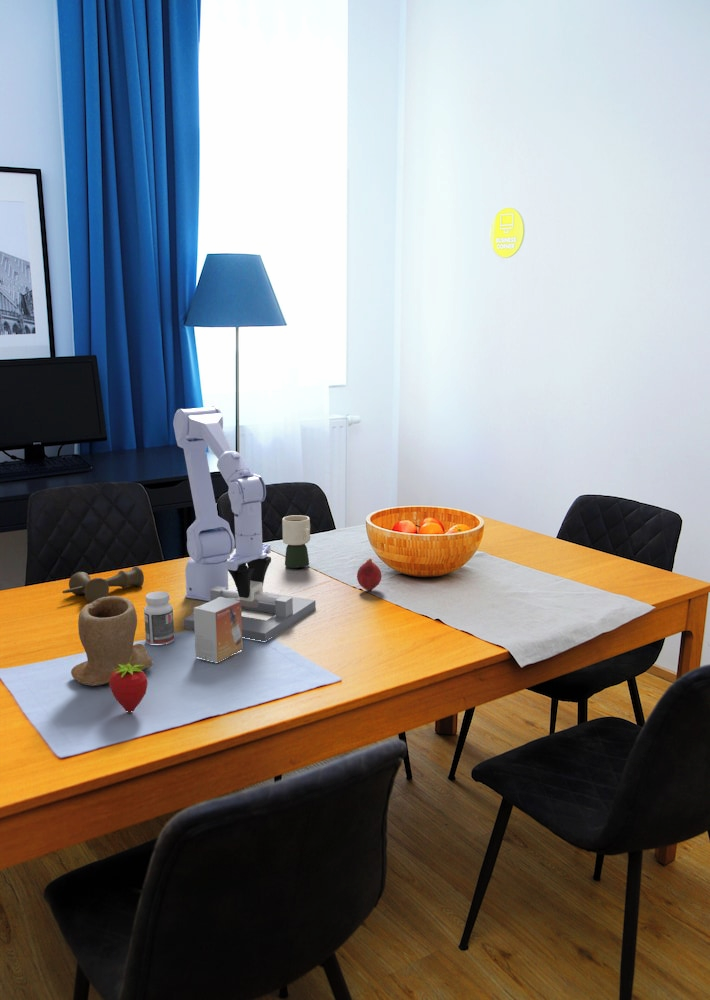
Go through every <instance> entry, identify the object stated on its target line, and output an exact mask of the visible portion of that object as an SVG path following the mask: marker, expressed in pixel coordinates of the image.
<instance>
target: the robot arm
mask: <svg viewBox="0 0 710 1000" xmlns="http://www.w3.org/2000/svg"><path fill="white" fill-rule="evenodd" d="M173 416H174V417H173V423H172V425H173V430H174V435H175V440H176V444H177V447H179V448H181V449H183V453H184V459H185V465H186V469H187V475H188V481H189V487H190V491H191V498H192V502H193V508H194V513H195V514H194V515H195V520H194V521H193V523H191V525H190V526H189V527H188V528H187V530H186V538H187V539H186V540H187V541H186V548H187V549H186V550H187V553H188V555H189V557H190V558H189V559H188V561H187V563H186V565H185V571H184V572H185V590H186V591H185V592H186V593H185V594H184V598H188V599H193V600H199V601H207V602H210V601H211V600H210V590H211V589H213V588H215V587H217V586H221V587H227V590H230V588H229V587H230V586H229V575H230V576H231V577H232V579H233V581H234V585H235V587H236V590H237V591H238V594H239V597H243V598H248V597H249V594H250V582H251V581H257V582H262V585H263V586H264V582H265V578H266V574H267V571H268V568H269V565H270V564H271V561H272V558H271V556H268V554H271V544H270V543H269V544H268V543H263V528H262V527H263V526H262V525H263V524H262V523H263V522H262V521H263V520H262V502H264V501H265V499H266V496H267V488H266V483H265V480H263V477H262V476H261V475H259V474H256V472H252V470H251V469H250V468H249V466H248V464H247V462H246V461H245V460H244V458H243V456H242V455H241V453H240V452H238V451H233V449H232V447H231V445H230V443H229V440H228V439H227V436H226V435H225V432H224V430H223V429H224V417H223V414H222V412H221V410H220V409H219V407H218V406H216V405H212V406H207V407H206V406H204V407H195V408H178V409H177V410H176V412H175V413H174V415H173ZM207 447H208V448H210V450H211V451H212V452H213V454H214V456H215V457H216V458H217V463H216V467H217V469H218V471H219V472H220V474H221V476H222V478H223V479H224V481H225V483H226V484H227V486H228V490H227V494H228V499H229V501H230V505H231V507H230V508H231V512H232V513H233V514H234V518H233V519H234V534H233V532H232V530H231V527H230V523H229V522H228V521H227V520H225V519H223V518H222V517H220V516H219V515H218V510H217V509H218V508H217V505H216V504H217V503H216V499H215V494H214V493H215V492H214V488H213V487H214V486H213V483H212V477H211V472H210V471H211V470H210V467H209V460H208V454H207ZM208 530H210V531H208ZM211 530H212V531H211ZM203 531H206V532H203ZM234 551H235V552H234ZM233 552H234V553H233ZM232 554H233V555H232ZM231 590H232V591H236V590H235V589H231Z"/></svg>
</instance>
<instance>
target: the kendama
mask: <svg viewBox="0 0 710 1000" xmlns="http://www.w3.org/2000/svg"><path fill="white" fill-rule="evenodd" d="M144 581H145V575H144V572H143V570H142V568H140V567H139V566H138V565H137V566H136V565H135V566H133V567H132V568H131V569H130V570H126V571H124V570H119V571H118V572H117V574H115V575H113V576H111V577H109V578H106V579H105V578H102V577H95V578H92V579H91V576H90V574H88V573H87V572H84V571H77V572H75V573H74V574H73V575H71V576H70V578H69V582H68V587H69V588H67V589H65V590H63V591H62V594H70V593H71V594H73V595H77V596H80V595H84V598H85V599H86V601H87V602H89V603H92V602H93V601H95V600H97V599H99V598H102V597H108V596H109V594H110V593H109V592H110V587H120V588H122V589H127V588H128V587H130V586H136V587H142V586H143V585H144Z"/></svg>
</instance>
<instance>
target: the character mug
mask: <svg viewBox="0 0 710 1000" xmlns="http://www.w3.org/2000/svg"><path fill="white" fill-rule="evenodd" d="M281 519H282V520H281V521H282V522H281V523H282V524H281V526H282V528H281V529H282V542H283V544H285V545H287V546H286V548H285V558H284V566H285V567H286V568H291V569H296V568H299V569H302V568H303V567H308V566H309V565H310V560H309V553H308V547H307V545H306V544H308V543H309V542H310V541H311V522H310V521H311V519H310V517H309V516H307V515H301V514H299V515H296V514H295V515H294V514H292V515H288V516H284V517H283V518H281Z"/></svg>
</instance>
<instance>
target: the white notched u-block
mask: <svg viewBox="0 0 710 1000" xmlns="http://www.w3.org/2000/svg"><path fill="white" fill-rule="evenodd" d="M263 588H264V584H263V585H262V582H257V581H251V582H250V594H249V597H248V598H243V597H238V598H236V599H235V600H237V601H241V606H247V607H253V608H256V607H257V606H259V605H258V600H254V594H258V595H264V596H267V595H265V594H263V592H264V589H263Z"/></svg>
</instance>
